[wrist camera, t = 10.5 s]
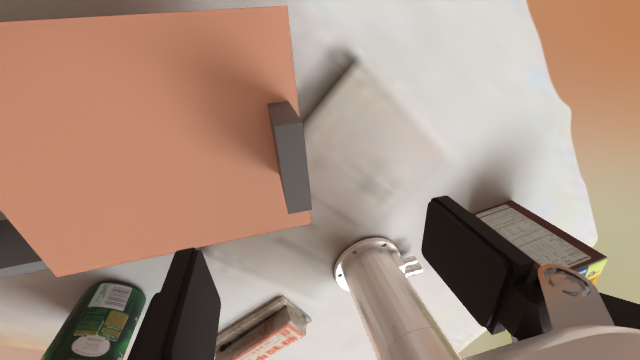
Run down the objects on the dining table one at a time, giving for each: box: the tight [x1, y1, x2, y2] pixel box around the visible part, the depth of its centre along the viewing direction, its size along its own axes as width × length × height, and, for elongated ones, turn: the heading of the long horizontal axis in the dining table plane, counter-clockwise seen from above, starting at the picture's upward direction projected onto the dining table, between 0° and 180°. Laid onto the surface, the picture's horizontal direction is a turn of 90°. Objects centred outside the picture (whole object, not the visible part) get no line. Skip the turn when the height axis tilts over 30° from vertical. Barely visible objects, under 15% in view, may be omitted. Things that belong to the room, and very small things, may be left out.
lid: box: [0, 6, 312, 277], centre depth 17 cm, size 22×18×7 cm
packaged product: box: [215, 296, 311, 360], centre depth 47 cm, size 18×5×10 cm
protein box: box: [474, 201, 607, 285], centre depth 46 cm, size 10×15×16 cm
